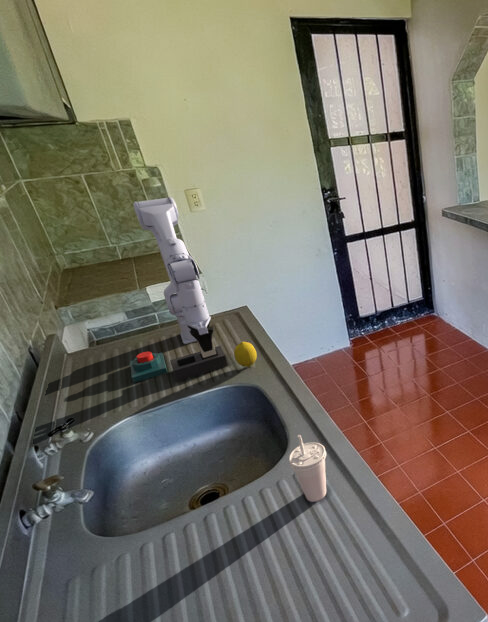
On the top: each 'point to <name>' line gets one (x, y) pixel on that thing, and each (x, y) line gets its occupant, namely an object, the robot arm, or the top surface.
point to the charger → (208, 353)
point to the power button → (144, 357)
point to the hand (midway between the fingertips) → (206, 347)
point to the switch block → (148, 368)
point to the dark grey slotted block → (197, 364)
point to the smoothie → (310, 469)
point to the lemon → (245, 354)
